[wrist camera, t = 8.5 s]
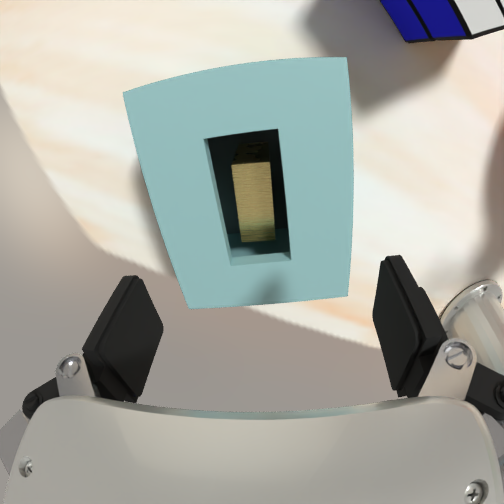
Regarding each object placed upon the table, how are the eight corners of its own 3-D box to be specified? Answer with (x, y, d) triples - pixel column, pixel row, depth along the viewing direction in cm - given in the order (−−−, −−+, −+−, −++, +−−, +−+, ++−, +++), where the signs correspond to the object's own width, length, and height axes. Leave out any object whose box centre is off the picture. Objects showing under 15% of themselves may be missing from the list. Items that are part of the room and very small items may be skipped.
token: (268, 141, 23) (273, 205, 27) (238, 144, 23) (246, 207, 27) (269, 161, 18) (275, 240, 22) (231, 165, 19) (241, 242, 22)
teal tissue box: (325, 228, 29) (347, 296, 21) (208, 239, 30) (188, 309, 22) (314, 63, 20) (346, 57, 12) (173, 83, 21) (122, 92, 13)
